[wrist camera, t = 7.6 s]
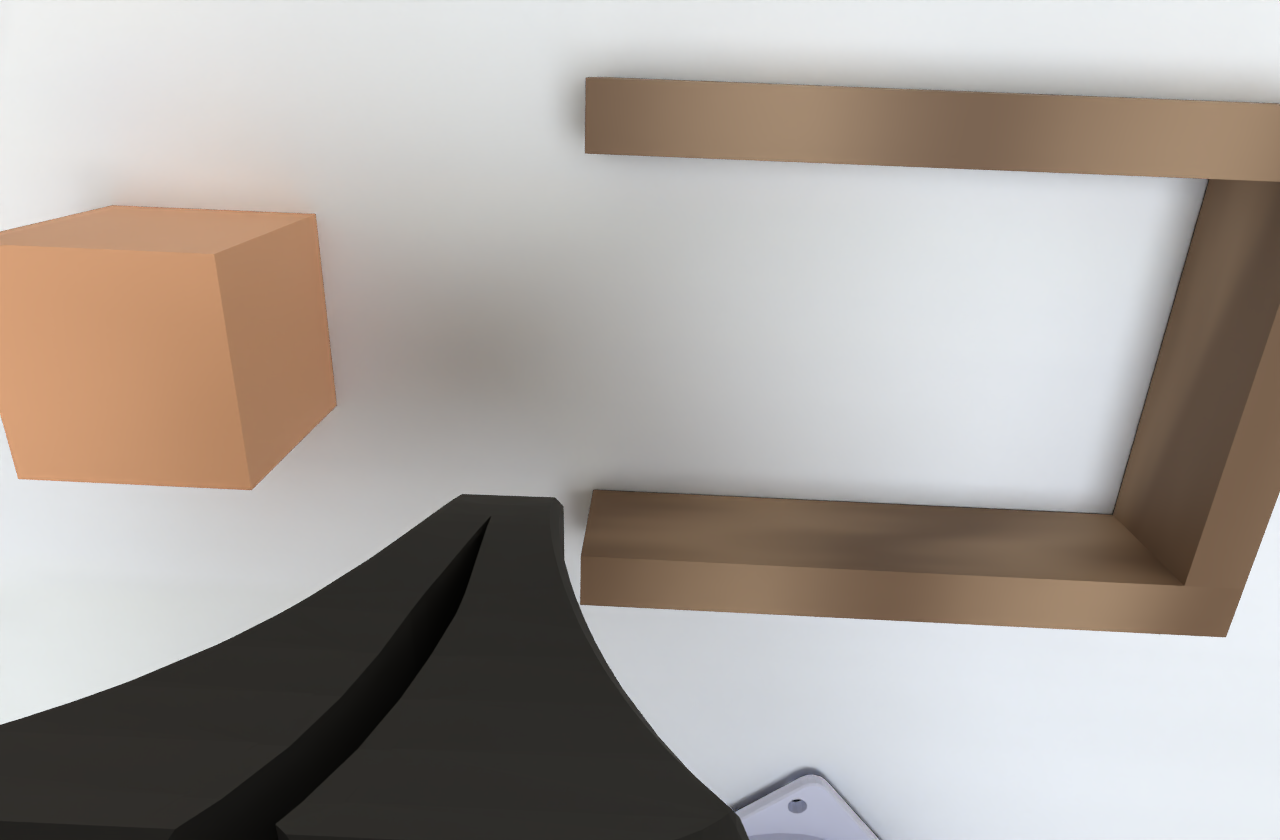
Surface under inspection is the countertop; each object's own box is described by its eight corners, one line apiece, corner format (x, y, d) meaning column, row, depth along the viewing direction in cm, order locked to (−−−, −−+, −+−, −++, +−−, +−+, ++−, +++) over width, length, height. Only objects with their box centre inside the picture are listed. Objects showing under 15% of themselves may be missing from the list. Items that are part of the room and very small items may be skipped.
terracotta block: (317, 213, 18) (214, 253, 14) (337, 404, 20) (251, 490, 16) (114, 204, 18) (-48, 242, 14) (152, 395, 20) (18, 479, 16)
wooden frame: (1293, 104, 16) (1420, 110, 14) (1150, 560, 20) (1225, 637, 18) (600, 76, 17) (586, 77, 14) (592, 533, 21) (580, 604, 18)
